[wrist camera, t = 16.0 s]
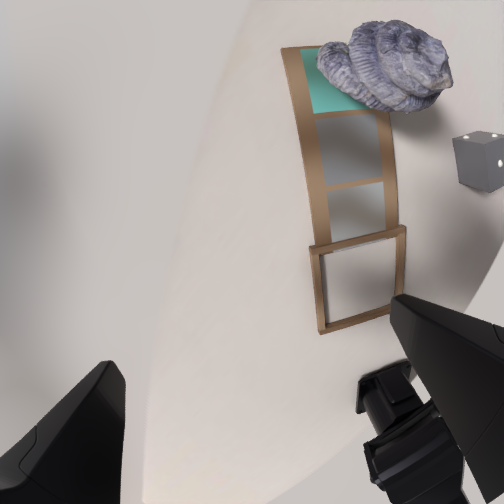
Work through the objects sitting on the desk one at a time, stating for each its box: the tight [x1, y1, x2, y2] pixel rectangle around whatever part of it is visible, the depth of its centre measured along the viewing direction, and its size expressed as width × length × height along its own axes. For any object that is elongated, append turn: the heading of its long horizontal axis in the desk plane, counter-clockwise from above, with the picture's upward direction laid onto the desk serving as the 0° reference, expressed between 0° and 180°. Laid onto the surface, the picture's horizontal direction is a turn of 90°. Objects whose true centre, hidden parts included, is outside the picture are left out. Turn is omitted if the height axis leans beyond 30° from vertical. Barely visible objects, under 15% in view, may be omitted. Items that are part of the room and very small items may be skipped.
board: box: [280, 45, 398, 256], centre depth 19 cm, size 15×7×1 cm, turn 11°
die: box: [452, 131, 504, 193], centre depth 18 cm, size 4×4×4 cm
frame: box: [309, 224, 405, 335], centre depth 23 cm, size 8×8×1 cm
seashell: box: [315, 20, 453, 114], centre depth 12 cm, size 5×5×10 cm
